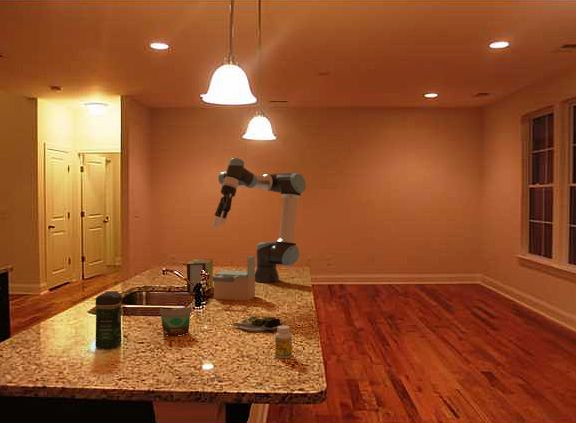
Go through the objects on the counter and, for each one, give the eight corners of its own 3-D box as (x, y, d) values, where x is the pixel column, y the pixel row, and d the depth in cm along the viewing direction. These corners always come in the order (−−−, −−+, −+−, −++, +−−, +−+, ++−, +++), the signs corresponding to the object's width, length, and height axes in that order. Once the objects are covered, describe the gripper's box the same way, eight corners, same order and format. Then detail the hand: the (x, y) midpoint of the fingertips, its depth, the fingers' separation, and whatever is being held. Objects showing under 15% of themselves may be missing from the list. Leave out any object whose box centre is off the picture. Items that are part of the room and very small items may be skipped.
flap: (223, 274, 259) (223, 269, 259) (252, 275, 255) (252, 270, 255) (206, 281, 238) (206, 276, 238) (238, 283, 234) (238, 277, 234)
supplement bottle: (294, 354, 164) (294, 325, 164) (288, 359, 159) (288, 329, 159) (278, 352, 166) (279, 324, 166) (272, 357, 161) (272, 328, 161)
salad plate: (230, 334, 189) (230, 321, 189) (235, 321, 207) (235, 310, 207) (281, 334, 189) (281, 322, 189) (282, 322, 207) (282, 311, 207)
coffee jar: (117, 349, 169) (116, 294, 168) (92, 350, 168) (92, 295, 167) (124, 341, 178) (123, 289, 178) (101, 341, 178) (101, 289, 177)
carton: (221, 294, 260) (221, 254, 259) (254, 296, 256) (254, 255, 255) (213, 298, 250) (213, 256, 249) (248, 300, 245) (248, 257, 245)
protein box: (213, 287, 280) (213, 259, 279) (205, 292, 264) (205, 263, 264) (194, 286, 281) (194, 259, 280) (186, 292, 266) (186, 263, 265)
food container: (163, 339, 181) (163, 311, 181) (159, 334, 187) (159, 308, 186) (196, 334, 187) (196, 308, 186) (191, 330, 192) (191, 304, 192)
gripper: (216, 189, 265) (204, 227, 259) (229, 179, 242) (217, 220, 236) (229, 194, 267) (218, 232, 261) (244, 184, 245) (232, 225, 239)
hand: (217, 226), depth 249 cm, fingers open, 13 cm apart
